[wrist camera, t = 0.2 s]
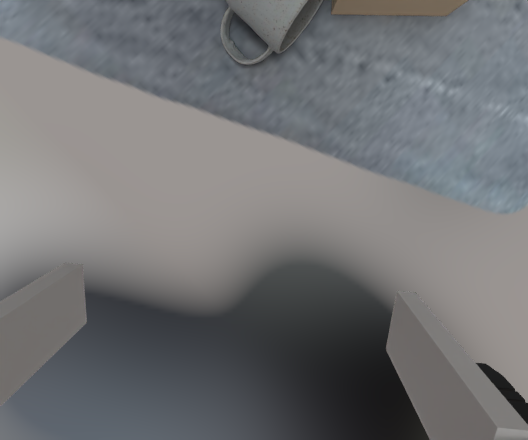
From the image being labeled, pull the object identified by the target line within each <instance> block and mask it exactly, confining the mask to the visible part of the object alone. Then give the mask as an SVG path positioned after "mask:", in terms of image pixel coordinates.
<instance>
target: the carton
mask: <svg viewBox="0 0 528 440" xmlns="http://www.w3.org/2000/svg"><path fill="white" fill-rule="evenodd" d="M467 1H468V0H332V8H331V14H339V15H403V16H447V15H448V14H450V13H451V12H453V11H454V10H455V9H457V8H458V7H460V6H461V5H462V4H464V3H465V2H467Z"/></svg>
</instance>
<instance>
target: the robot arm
mask: <svg viewBox="0 0 528 440" xmlns="http://www.w3.org/2000/svg"><path fill="white" fill-rule="evenodd" d="M86 323H87V319H86V306H85V291H84V277H83V265H82V264H73V263H64V264H62V265H60V266H59V267H57V268H55V269H54V270H52V271H50V272H49V273H47V274H45V275H44V276H42V277H40V278H39V279H37V280H35V281H34V282H32V283H30V284H29V285H27V286H25V287H24V288H22V289H20V290H18V291H17V292H15V293H13V294H12V295H10V296H9V297H7V298H5V299H3V300H2V301H0V407H1V406H2V405H3V404H4V402H6V401H7V400H8V399H9V398H10V397H11V396H12V395H13V394H14V393H15V392H16V391H17V390H18V389H19V388H20V387H21V386H22V385H23V384H24V383H25V382H26V381H27V380H28V379H29V378H30V377H31V376H32V375H33V374H34V373H35V372H36V371H37V370H38V369H39V368H41V366H43V364H44V363H46V362H47V360H49V359H50V358H51V357H52V356H53V355H54V354H55V353H56V352H57V351H58V350H59V349H60V348H61V347H62V346H63V345H64V344H65V343H66V342H67V341H68V340H69V339H70V338H71V337H72V336H73V335H74V334H75V333H76V332H77V331H78V330H80V329H81V328H82V326H84V325H85V324H86ZM386 350H387V352H388V354H389V356H390V358H391V361H392V363H393V365H394V367H395V369H396V371H397V373H398V375H399V377H400V379H401V381H402V383H403V385H404V387H405V389H406V391H407V393H408V395H409V398H410V400H411V401H412V403H413V406H414V408H415V410H416V412H417V414H418V416H419V418H420V420H421V422H422V424H423V426H424V428H425V430H426V432H427V434H428V437H429V439H430V440H528V403H526V402H525V400H524V398H523V397H522V396H521V395H520V394H519V393H518V392H515V389H514V388H513V386H512V385H511V384H510V383H509V382H508V381H507V380H506V379H505V378H504V377H503V376H502V375H501V374H500V373H498V372H497V371H495V370H494V369H492V368H491V367H490V366H488V365H486V364H482V363H475V362H474V361H473V359H472V358H471V357H470V356H469V355H468V354H467V352H466V351H465V350H464V349H463V348H462V346H461V345H460V344H459V343H458V342H457V341H456V339H455V338H454V337H453V336H452V335H451V334H450V332H449V331H448V330H447V329H446V328H445V326H444V325H443V324H442V323H441V322H440V321H439V319H438V318H437V317H436V316H435V315H434V313H433V312H432V311H431V310H430V309H429V308H428V306H427V305H426V304H425V303H424V302H423V301H422V299H421V298H420V297H419V296H418V295H417V293H416V292H405V291H397V293H396V298H395V304H394V309H393V314H392V319H391V325H390V330H389V336H388V341H387V347H386Z"/></svg>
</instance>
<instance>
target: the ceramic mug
mask: <svg viewBox="0 0 528 440" xmlns="http://www.w3.org/2000/svg"><path fill="white" fill-rule="evenodd" d="M226 2H227V3H228V5H229V7H228V9H227V10H226V12H225V14H224V16H223V19H222V23H221V39H222V42H223V45H224V47H225V49H226V51H227V52H228V54H229V55H230V56H231V57H232V58H233V59H234V60H235V61H237V62H238V63H240V64H245V65H250V64H255V63H258V62H260V61H262V60H264V59H265V58H267V57H268V56H269V55H270V54H271V53H272V52H273V51H275V52H276V53H278V54H280V53H282V52H284V51H285V50H286V49H287V48H289V47H290V46H291V45H292V44H293V43H294V41H295V40H296V39H297V38H298V37H299V35H300V34H301V33H302V32H303V30H304V29H305V28H306V26H307V25H308V24H309V22H310V21H311V19H312V18H313V16H314V15H315V13H316V12H317V10H318V8H319V7H320V5H321V3H322V2H323V0H226ZM234 12H235V13H236V14H237V15H238V16H239V17H240V18H241V19H242V20H244V21H245V22H246V23H247V24H248V25H249V26H250V27H251V28H252V29H253V30H254V31H255V32H256V33H257V34H258V35H259V36H260V37H261V38H262V39H263V40H264V41H265V42H266V43H267V44H268V49H267V51H266V52H265V53H263V54H262V55H260V56H259V57H257V58H255V59H251V60H249V59H248V58H245V57H244V55H243V54H242V53H241V52H240V51H239V50H238V49H237V48H236V46H235V45H234V42H233V41H232V40H230V38H229V25H230V21H231V19H232V16H233V14H234Z"/></svg>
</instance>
